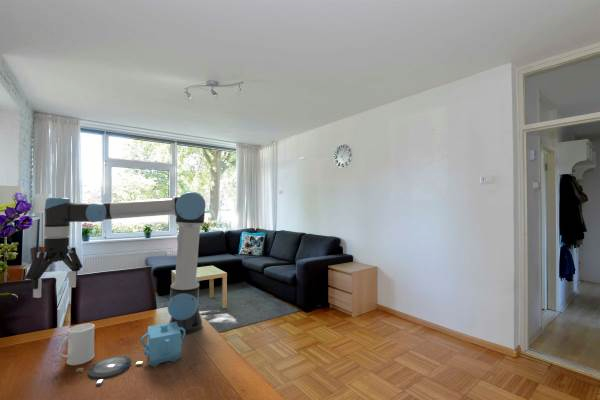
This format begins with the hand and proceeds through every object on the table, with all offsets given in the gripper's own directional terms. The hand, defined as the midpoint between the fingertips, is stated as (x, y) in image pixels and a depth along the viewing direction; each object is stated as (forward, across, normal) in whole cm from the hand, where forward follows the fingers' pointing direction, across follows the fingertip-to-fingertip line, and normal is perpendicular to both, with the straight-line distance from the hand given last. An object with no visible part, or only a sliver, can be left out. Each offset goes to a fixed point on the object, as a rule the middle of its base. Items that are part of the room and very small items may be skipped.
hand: (55, 292), depth 115 cm
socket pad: (+25, +5, +29) cm, 38 cm away
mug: (+25, +2, +12) cm, 28 cm away
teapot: (+25, -5, +44) cm, 51 cm away
